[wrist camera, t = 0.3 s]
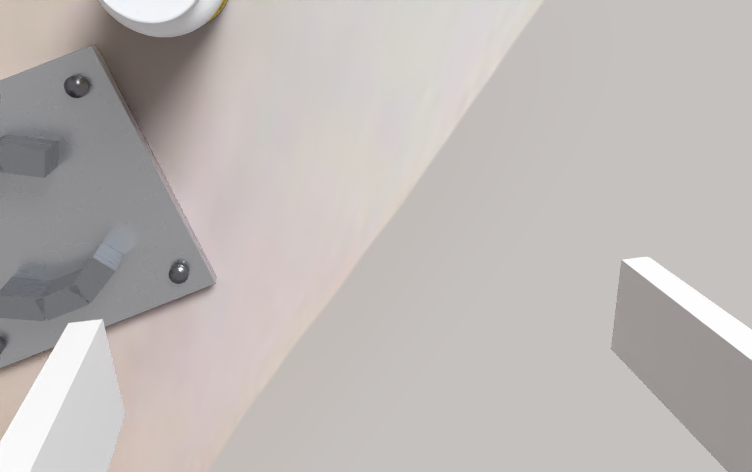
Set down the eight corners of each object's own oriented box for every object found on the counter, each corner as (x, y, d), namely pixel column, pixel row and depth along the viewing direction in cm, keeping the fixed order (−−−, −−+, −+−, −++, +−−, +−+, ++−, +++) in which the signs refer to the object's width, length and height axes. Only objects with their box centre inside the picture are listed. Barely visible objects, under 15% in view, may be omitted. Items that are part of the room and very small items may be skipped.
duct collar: (-171, 146, 35) (-214, 162, 32) (95, 43, 36) (79, 49, 32) (-8, 365, 42) (-31, 396, 39) (216, 276, 42) (212, 301, 39)
